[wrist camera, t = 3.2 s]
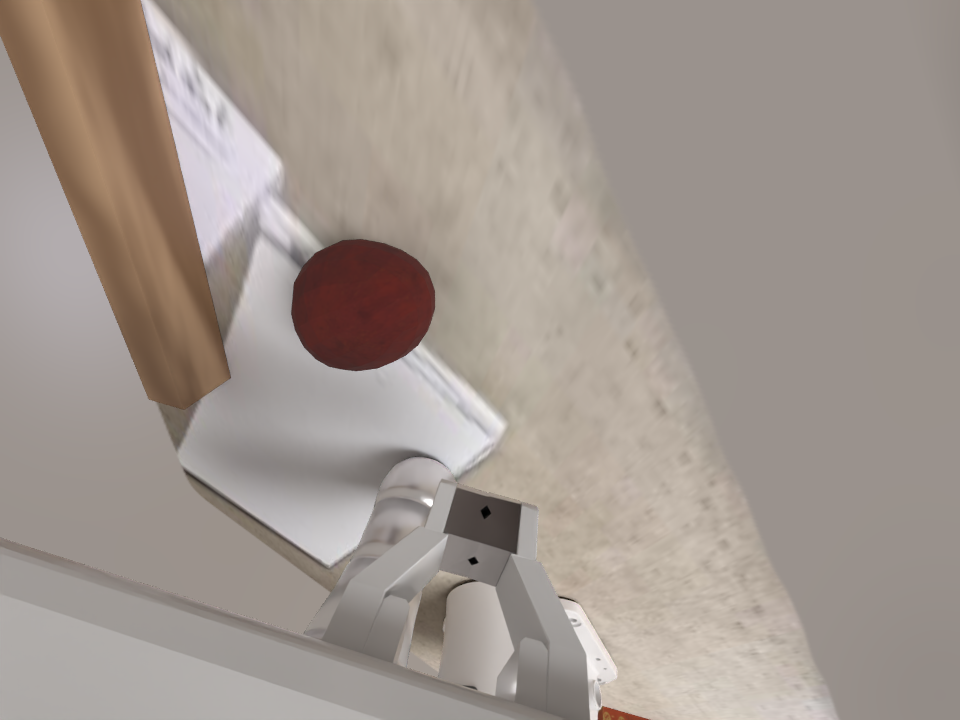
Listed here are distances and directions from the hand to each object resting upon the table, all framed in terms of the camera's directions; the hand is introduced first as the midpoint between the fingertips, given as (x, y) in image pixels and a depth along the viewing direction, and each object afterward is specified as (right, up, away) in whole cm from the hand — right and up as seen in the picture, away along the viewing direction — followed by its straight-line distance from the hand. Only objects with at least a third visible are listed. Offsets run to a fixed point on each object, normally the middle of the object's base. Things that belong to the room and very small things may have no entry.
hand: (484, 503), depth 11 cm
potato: (-6, +9, +13) cm, 17 cm away
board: (-21, +13, +14) cm, 28 cm away
